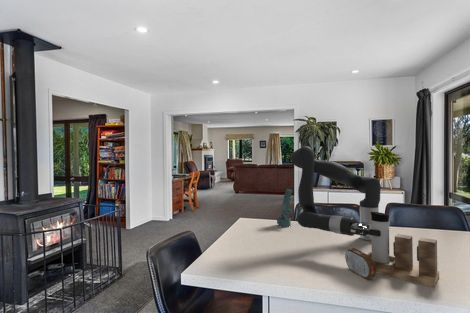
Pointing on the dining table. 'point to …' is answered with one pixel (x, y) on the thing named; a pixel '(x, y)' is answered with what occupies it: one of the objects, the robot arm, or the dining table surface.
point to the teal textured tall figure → (285, 210)
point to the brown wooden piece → (411, 261)
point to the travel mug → (380, 237)
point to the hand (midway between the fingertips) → (383, 231)
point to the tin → (360, 263)
